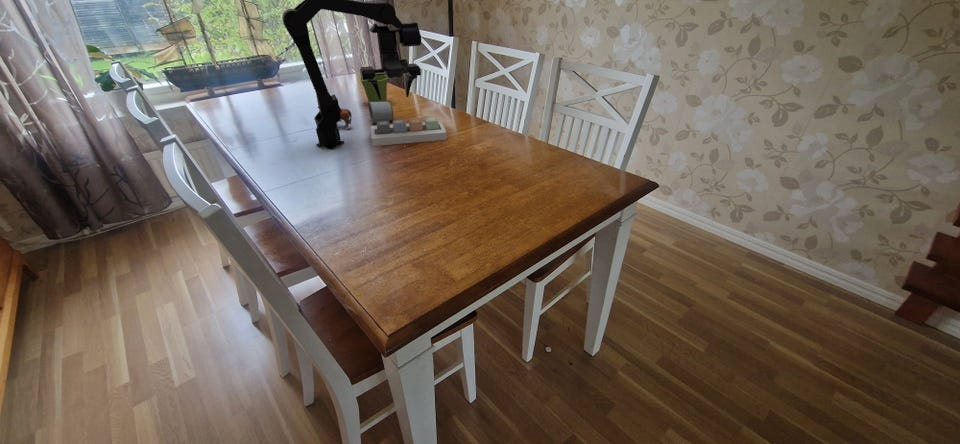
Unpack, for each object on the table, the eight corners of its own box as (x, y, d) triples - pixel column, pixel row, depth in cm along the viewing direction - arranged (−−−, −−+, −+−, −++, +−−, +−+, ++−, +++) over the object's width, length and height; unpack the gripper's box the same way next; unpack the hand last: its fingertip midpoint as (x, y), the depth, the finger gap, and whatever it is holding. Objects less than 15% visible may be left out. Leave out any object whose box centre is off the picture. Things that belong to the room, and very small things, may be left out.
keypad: (372, 146, 124) (371, 138, 123) (371, 133, 134) (370, 126, 132) (446, 139, 130) (446, 132, 128) (440, 127, 139) (440, 120, 138)
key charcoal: (377, 134, 127) (376, 125, 125) (377, 130, 130) (376, 121, 128) (390, 133, 128) (389, 124, 126) (389, 129, 131) (388, 120, 129)
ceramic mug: (395, 122, 143) (392, 102, 139) (373, 125, 140) (370, 105, 136) (388, 115, 151) (386, 95, 147) (368, 117, 148) (365, 98, 144)
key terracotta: (410, 131, 129) (409, 123, 127) (409, 127, 132) (408, 119, 131) (422, 130, 130) (422, 122, 128) (421, 126, 133) (420, 118, 132)
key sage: (426, 130, 130) (425, 121, 128) (424, 126, 134) (424, 117, 132) (438, 129, 131) (438, 120, 129) (436, 125, 134) (436, 117, 133)
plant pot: (368, 100, 167) (364, 73, 161) (394, 100, 167) (391, 74, 160) (360, 108, 157) (355, 80, 151) (388, 109, 157) (384, 81, 151)
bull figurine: (326, 122, 142) (321, 101, 138) (356, 127, 139) (352, 105, 134) (318, 126, 139) (313, 104, 134) (349, 131, 135) (344, 108, 131)
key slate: (394, 133, 128) (393, 124, 126) (393, 128, 131) (392, 120, 129) (406, 132, 129) (405, 123, 127) (405, 127, 132) (404, 119, 130)
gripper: (361, 54, 108) (369, 108, 117) (423, 50, 114) (427, 102, 123) (356, 47, 117) (364, 98, 126) (414, 44, 123) (418, 93, 132)
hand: (393, 98), depth 126 cm, fingers open, 9 cm apart
